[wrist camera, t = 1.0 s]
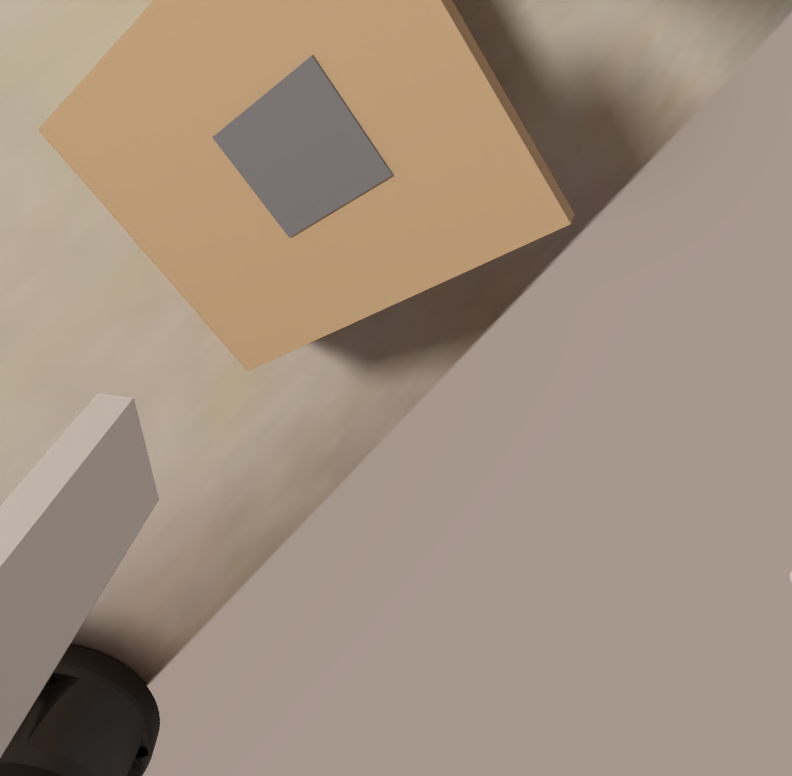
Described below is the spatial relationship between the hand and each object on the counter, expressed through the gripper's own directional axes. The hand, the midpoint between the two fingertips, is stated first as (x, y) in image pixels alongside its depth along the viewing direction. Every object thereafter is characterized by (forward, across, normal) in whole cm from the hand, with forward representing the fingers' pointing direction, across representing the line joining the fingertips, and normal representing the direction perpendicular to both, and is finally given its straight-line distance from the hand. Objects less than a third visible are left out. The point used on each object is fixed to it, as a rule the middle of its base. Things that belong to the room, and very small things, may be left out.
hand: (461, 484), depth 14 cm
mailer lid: (+18, +9, 0) cm, 20 cm away
